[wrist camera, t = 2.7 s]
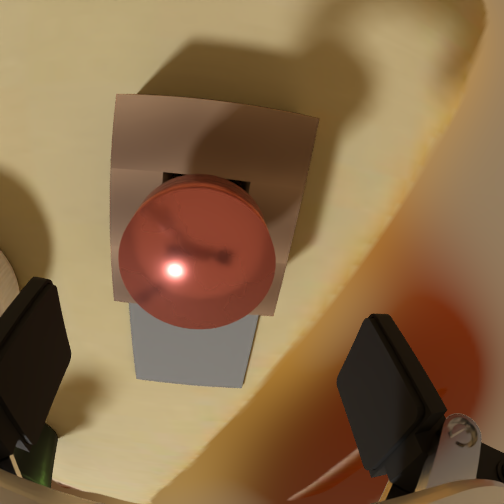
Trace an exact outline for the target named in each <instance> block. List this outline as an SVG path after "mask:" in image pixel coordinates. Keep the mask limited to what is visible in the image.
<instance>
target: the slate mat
mask: <svg viewBox="0 0 504 504" xmlns="http://www.w3.org/2000/svg"><path fill="white" fill-rule="evenodd" d="M129 310H130V323H131V334H132V345H133V354H134V363H135V371H136V379H141V380H149V381H157V382H165V383H175V384H185V385H197V386H211V387H228V388H242V384H243V380H244V376H245V372H246V368H247V363H248V359H249V355H250V351H251V346H252V342H253V338H254V333H255V329H256V325H257V320H258V316H259V315H246V316H245V317H243V318H241V319H239V320H238V321H236V322H233V323H231V324H228V325H225V326H221V327H218V328H212V329H187V328H181V327H177V326H173V325H170V324H168V323H165V322H163V321H161V320H159V319H157V318H155V317H153V316H152V315H150V314H149V313H147V312H146V311H145V310H144V309H143V308H141V307H140V306H139V305H138V304H136V303H129Z"/></svg>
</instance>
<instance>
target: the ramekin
mask: <svg viewBox="0 0 504 504" xmlns="http://www.w3.org/2000/svg"><path fill="white" fill-rule="evenodd" d="M19 293H20V291H19V286H18V282H17V278H16V275H15V273H14V271H13V268H12V266H11V265H10V263H9V261H8V260H7V258H6V257H5V255H4V254H3V252H2V251H1V250H0V317H1V315H2V314H3V313H4V312H5V310H6V309H7V308H8V306H9V305H10V304H11V303H12V301H13V300H14V299H15V298H16V296H17V295H18V294H19Z"/></svg>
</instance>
